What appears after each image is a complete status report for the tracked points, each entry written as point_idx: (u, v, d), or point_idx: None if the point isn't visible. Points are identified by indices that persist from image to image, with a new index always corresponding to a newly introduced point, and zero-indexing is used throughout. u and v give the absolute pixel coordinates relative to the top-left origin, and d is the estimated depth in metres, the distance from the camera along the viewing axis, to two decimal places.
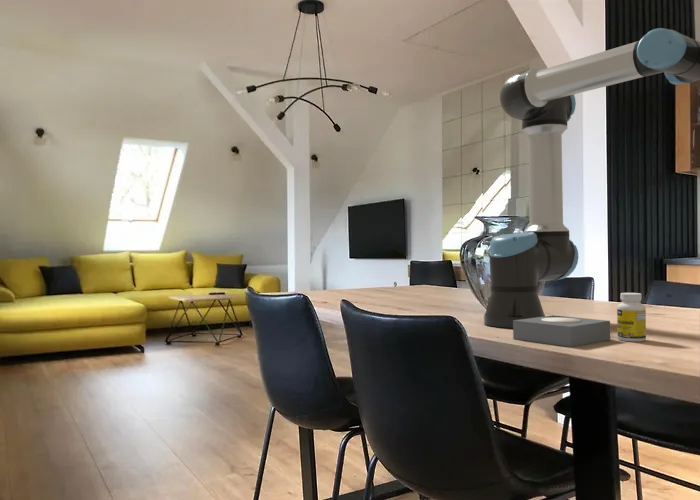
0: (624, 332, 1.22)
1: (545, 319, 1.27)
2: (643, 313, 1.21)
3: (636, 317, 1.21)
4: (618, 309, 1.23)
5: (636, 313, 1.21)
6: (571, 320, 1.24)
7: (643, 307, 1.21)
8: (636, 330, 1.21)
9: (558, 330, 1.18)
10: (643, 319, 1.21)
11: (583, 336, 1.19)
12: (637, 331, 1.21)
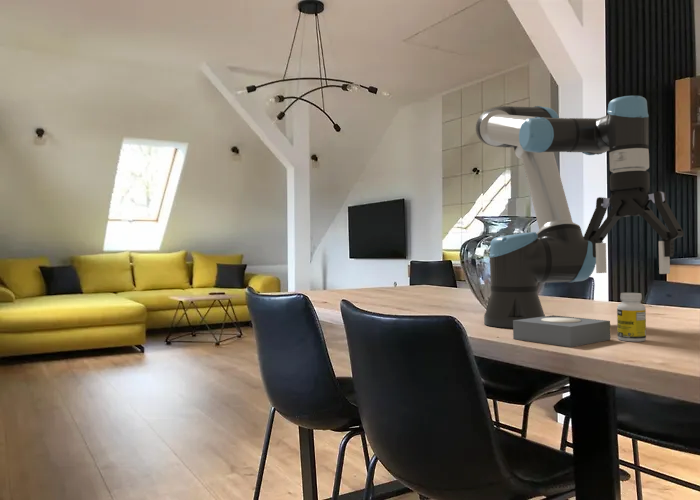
0: (624, 332, 1.22)
1: (545, 319, 1.27)
2: (643, 313, 1.21)
3: (636, 317, 1.21)
4: (618, 309, 1.23)
5: (636, 313, 1.21)
6: (571, 320, 1.24)
7: (643, 307, 1.21)
8: (636, 330, 1.21)
9: (558, 330, 1.18)
10: (643, 319, 1.21)
11: (583, 336, 1.19)
12: (637, 331, 1.21)
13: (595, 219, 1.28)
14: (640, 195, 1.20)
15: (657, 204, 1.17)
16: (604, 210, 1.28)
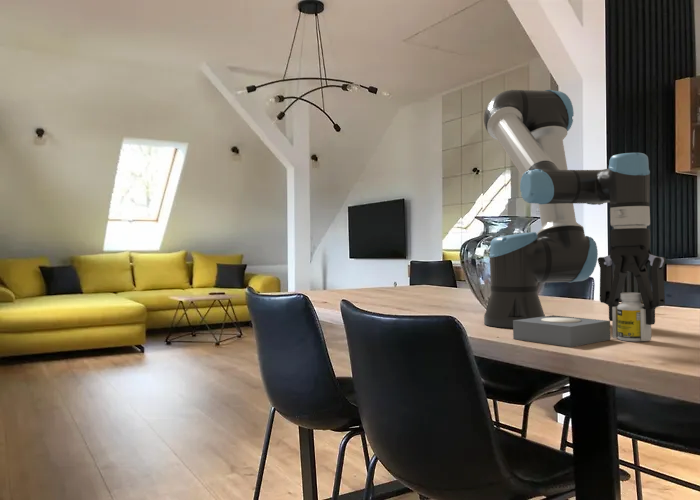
0: (624, 332, 1.22)
1: (545, 319, 1.27)
2: None
3: (636, 317, 1.21)
4: (618, 309, 1.23)
5: (636, 313, 1.21)
6: (571, 320, 1.24)
7: None
8: (636, 330, 1.21)
9: (558, 330, 1.18)
10: None
11: (583, 336, 1.19)
12: (637, 331, 1.21)
13: (604, 279, 1.27)
14: (642, 252, 1.20)
15: (653, 269, 1.18)
16: (609, 268, 1.28)
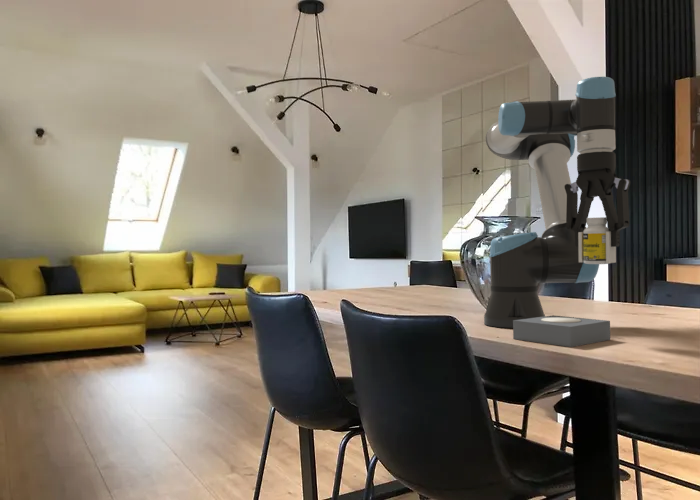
0: (590, 255, 1.24)
1: (545, 319, 1.27)
2: None
3: (601, 239, 1.22)
4: (584, 233, 1.25)
5: (602, 235, 1.22)
6: (571, 320, 1.24)
7: (608, 230, 1.23)
8: (601, 252, 1.22)
9: (558, 330, 1.18)
10: None
11: (583, 336, 1.19)
12: (602, 254, 1.22)
13: (570, 205, 1.28)
14: (607, 176, 1.22)
15: (618, 191, 1.20)
16: (575, 195, 1.29)
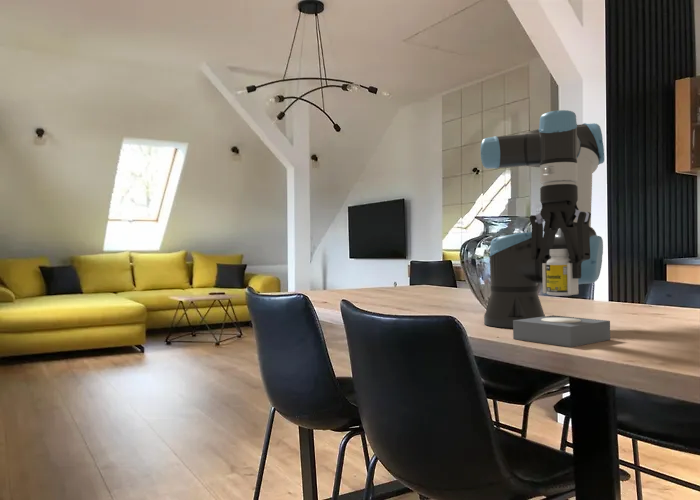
0: (552, 287, 1.24)
1: (545, 319, 1.27)
2: None
3: (563, 271, 1.23)
4: (547, 264, 1.26)
5: (563, 267, 1.23)
6: (571, 320, 1.24)
7: None
8: (563, 284, 1.23)
9: (558, 330, 1.18)
10: None
11: (583, 336, 1.19)
12: (564, 285, 1.23)
13: (535, 236, 1.29)
14: (568, 208, 1.23)
15: (578, 223, 1.21)
16: (540, 226, 1.30)
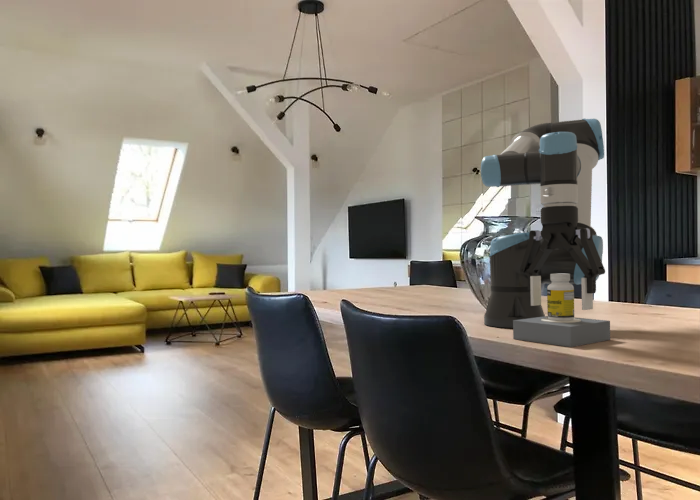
0: (552, 312, 1.24)
1: (545, 319, 1.27)
2: (571, 292, 1.24)
3: (563, 296, 1.23)
4: (547, 289, 1.26)
5: (564, 293, 1.23)
6: (571, 320, 1.24)
7: (571, 287, 1.24)
8: (564, 309, 1.23)
9: (558, 330, 1.18)
10: (571, 299, 1.23)
11: (583, 336, 1.19)
12: (565, 311, 1.23)
13: (529, 252, 1.31)
14: (568, 230, 1.23)
15: (582, 241, 1.20)
16: (537, 243, 1.31)
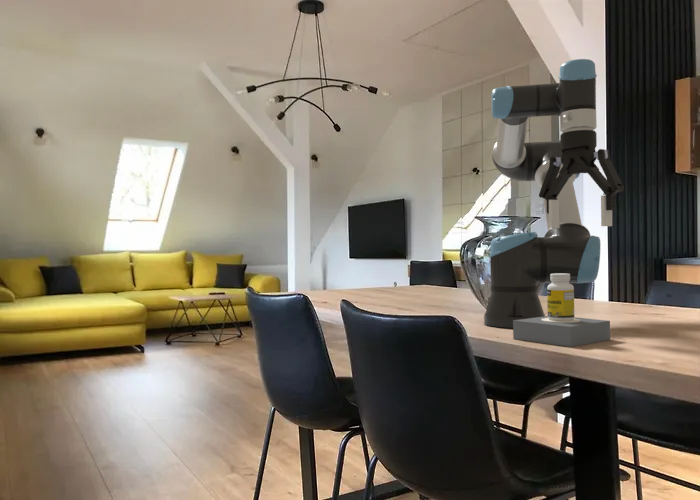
0: (552, 312, 1.24)
1: (545, 319, 1.27)
2: (571, 292, 1.24)
3: (564, 296, 1.23)
4: (547, 289, 1.26)
5: (564, 293, 1.23)
6: (571, 320, 1.24)
7: (571, 287, 1.24)
8: (564, 309, 1.23)
9: (558, 330, 1.18)
10: (571, 299, 1.23)
11: (583, 336, 1.19)
12: (565, 311, 1.23)
13: (548, 177, 1.37)
14: (586, 153, 1.28)
15: (600, 161, 1.25)
16: (557, 169, 1.37)
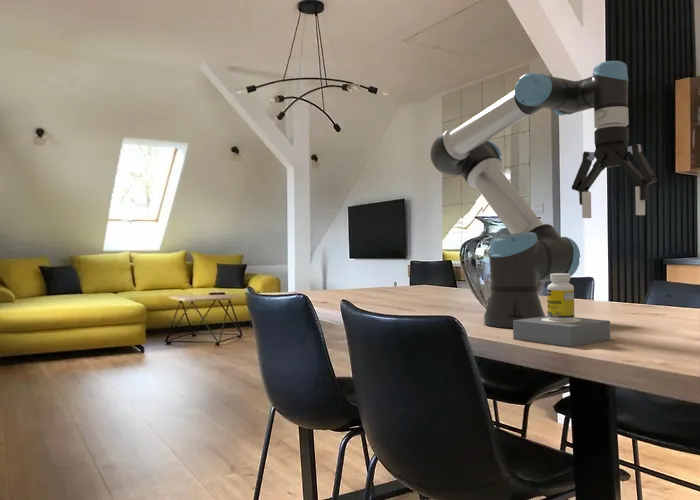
0: (552, 312, 1.24)
1: (545, 319, 1.27)
2: (571, 292, 1.24)
3: (564, 296, 1.23)
4: (547, 289, 1.26)
5: (564, 293, 1.23)
6: (571, 320, 1.24)
7: (571, 287, 1.24)
8: (564, 309, 1.23)
9: (558, 330, 1.18)
10: (571, 299, 1.23)
11: (583, 336, 1.19)
12: (565, 311, 1.23)
13: (582, 171, 1.46)
14: (620, 147, 1.38)
15: (634, 154, 1.35)
16: (589, 163, 1.46)
